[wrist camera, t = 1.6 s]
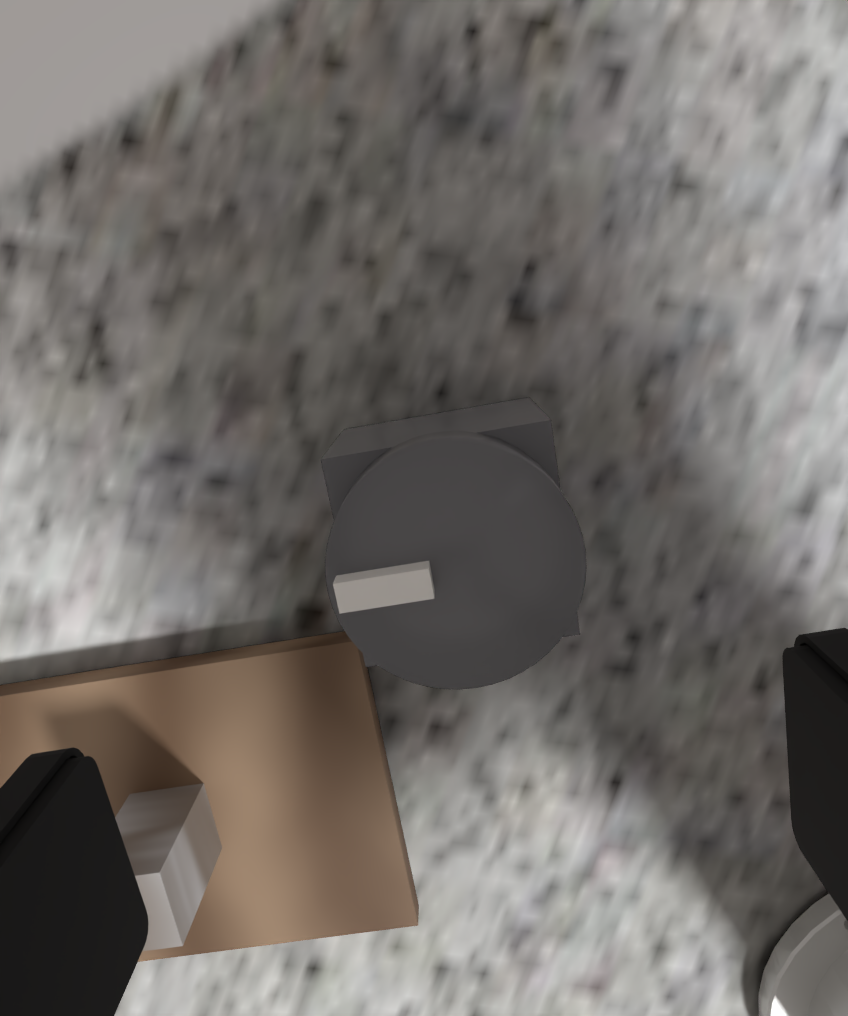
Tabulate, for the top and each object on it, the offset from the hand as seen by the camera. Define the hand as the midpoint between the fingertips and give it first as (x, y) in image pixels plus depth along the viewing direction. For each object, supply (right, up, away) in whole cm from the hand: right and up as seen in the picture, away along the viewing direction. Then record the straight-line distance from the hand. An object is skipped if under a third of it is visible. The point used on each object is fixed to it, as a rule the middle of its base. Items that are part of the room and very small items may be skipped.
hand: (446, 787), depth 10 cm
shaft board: (-9, -8, +19) cm, 22 cm away
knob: (+1, +4, +16) cm, 16 cm away
